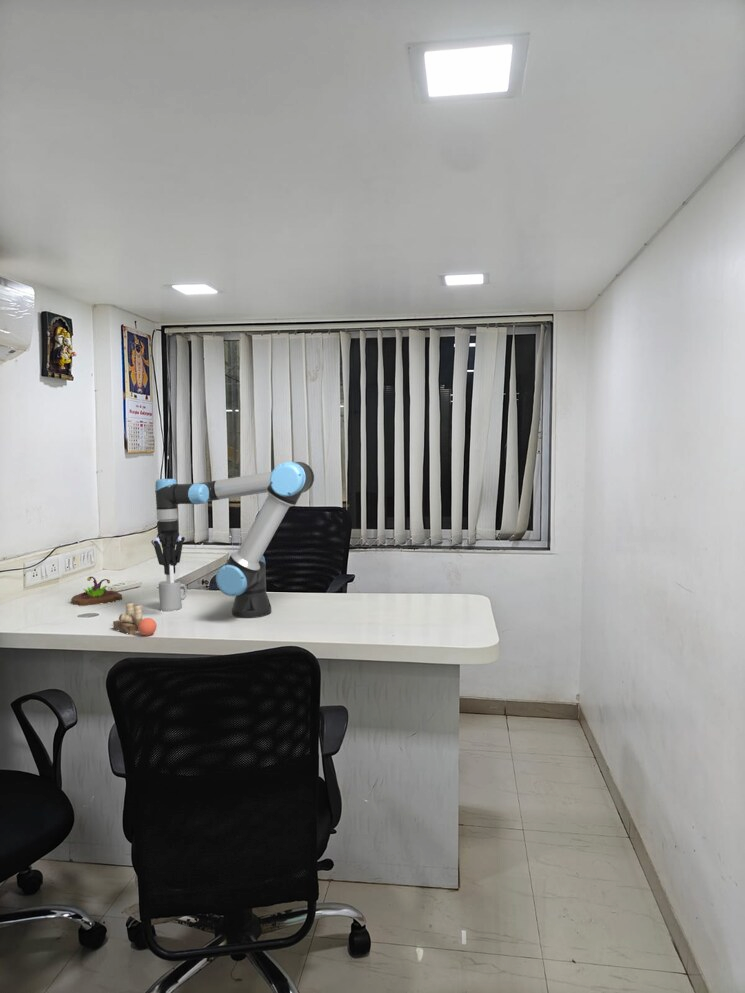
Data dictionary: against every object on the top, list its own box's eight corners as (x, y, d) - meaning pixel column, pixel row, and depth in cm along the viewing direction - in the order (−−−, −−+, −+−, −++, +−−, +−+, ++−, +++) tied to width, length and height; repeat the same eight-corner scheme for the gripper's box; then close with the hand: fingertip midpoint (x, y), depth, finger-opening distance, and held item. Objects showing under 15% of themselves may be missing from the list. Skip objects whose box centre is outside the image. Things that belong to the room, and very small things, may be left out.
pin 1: (135, 627, 237) (134, 603, 236) (129, 629, 235) (127, 604, 234) (132, 626, 239) (131, 602, 238) (125, 628, 237) (124, 603, 236)
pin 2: (144, 630, 233) (142, 605, 232) (137, 631, 231) (136, 606, 230) (140, 629, 235) (139, 604, 234) (133, 630, 233) (132, 605, 232)
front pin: (146, 620, 237) (124, 613, 231) (143, 627, 236) (121, 620, 230) (142, 620, 239) (120, 613, 233) (140, 627, 238) (117, 620, 232)
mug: (168, 612, 260) (166, 585, 259) (155, 609, 265) (154, 583, 264) (193, 606, 269) (191, 580, 268) (180, 604, 274) (179, 578, 274)
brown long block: (135, 633, 229) (135, 625, 228) (130, 635, 227) (129, 626, 227) (118, 628, 237) (118, 620, 236) (113, 629, 235) (113, 621, 235)
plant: (66, 601, 289) (65, 575, 288) (112, 594, 300) (111, 570, 300) (77, 608, 273) (76, 582, 272) (125, 601, 284) (124, 576, 284)
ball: (156, 618, 231) (158, 618, 225) (154, 635, 229) (156, 636, 224) (138, 617, 228) (140, 617, 223) (136, 635, 227) (138, 635, 222)
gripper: (177, 518, 251) (180, 578, 253) (146, 521, 241) (149, 584, 243) (188, 519, 246) (191, 581, 248) (156, 522, 236) (160, 586, 238)
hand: (170, 582), depth 245 cm, fingers closed
